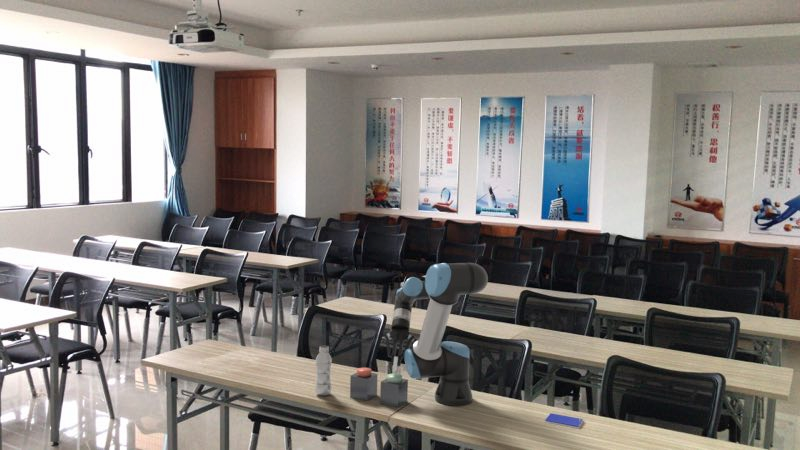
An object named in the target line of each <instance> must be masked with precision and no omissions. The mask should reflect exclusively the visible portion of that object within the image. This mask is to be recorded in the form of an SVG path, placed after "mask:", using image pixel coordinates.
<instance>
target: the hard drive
mask: <svg viewBox="0 0 800 450" xmlns="http://www.w3.org/2000/svg"><path fill="white" fill-rule="evenodd" d="M544 421H545V423H548V424H553V425H558V426H564V427H569V428H573V429H579V428H580V427H581V426H582V424H583V422H584V418H578V417H573V416H569V415H562V414H556V413H551V412H550V413H549V414H548V415H547V417H546V418H545V420H544Z"/></svg>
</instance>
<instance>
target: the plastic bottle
mask: <svg viewBox="0 0 800 450" xmlns="http://www.w3.org/2000/svg"><path fill="white" fill-rule="evenodd" d="M329 349H330V348H329V346H328V345H320V346H319V350H318V354H317V356H316V357H315V366H316V381H315V382H316V383H315V393H316V394H317V395H318V396H329V395H330V394H331V393H332V391H333V389H332V383H331V369H332V368H331V367H332V362H333V361H332V360H333V359H332V356H331V355H330V353H329V351H330V350H329Z"/></svg>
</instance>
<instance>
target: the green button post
mask: <svg viewBox="0 0 800 450" xmlns="http://www.w3.org/2000/svg"><path fill="white" fill-rule="evenodd" d="M408 382H409V379H407V378H402V382H400V383H390V382H387V377H386V378H385V379H383V380H381V381H380V394H379V396H380V398H379V399H380V401H379V403H380V405H384V406H388V407H394V408H400V407H401V406H403V405H405V404H406V403H407V402H408V393H409V392H408V390H409V389H408V388H409V386H408V385H409V383H408Z"/></svg>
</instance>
